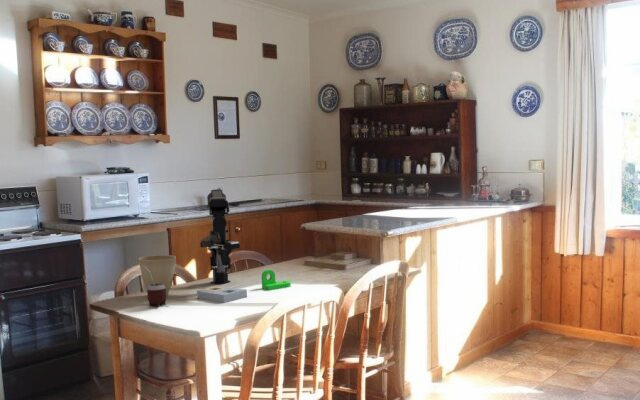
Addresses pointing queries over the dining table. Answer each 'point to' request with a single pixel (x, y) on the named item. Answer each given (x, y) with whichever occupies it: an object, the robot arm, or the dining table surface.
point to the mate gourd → (156, 293)
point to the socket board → (222, 294)
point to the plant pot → (158, 270)
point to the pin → (219, 261)
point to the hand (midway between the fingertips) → (220, 264)
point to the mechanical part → (273, 281)
